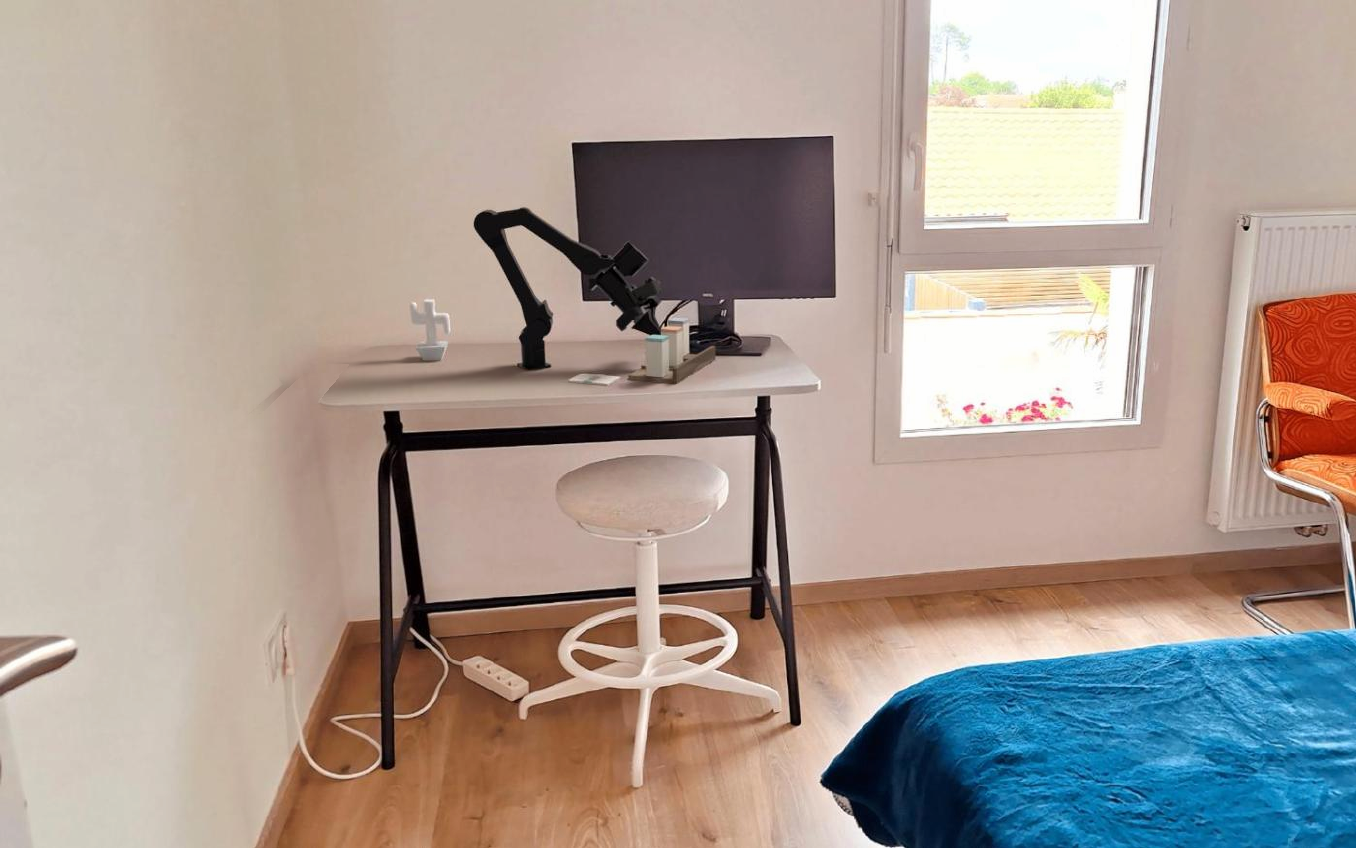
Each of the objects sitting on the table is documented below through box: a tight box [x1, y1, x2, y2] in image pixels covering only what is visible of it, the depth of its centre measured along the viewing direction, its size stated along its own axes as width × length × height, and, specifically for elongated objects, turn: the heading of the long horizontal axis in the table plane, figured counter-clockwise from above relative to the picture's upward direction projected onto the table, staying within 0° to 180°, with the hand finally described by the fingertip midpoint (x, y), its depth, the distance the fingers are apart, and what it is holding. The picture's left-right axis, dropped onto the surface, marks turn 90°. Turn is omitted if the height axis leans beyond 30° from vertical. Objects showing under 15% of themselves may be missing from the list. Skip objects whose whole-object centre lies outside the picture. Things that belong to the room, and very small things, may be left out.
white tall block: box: [645, 335, 669, 377], centre depth 223 cm, size 4×4×9 cm
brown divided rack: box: [627, 345, 716, 385], centre depth 234 cm, size 12×26×4 cm, turn 158°
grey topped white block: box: [667, 317, 690, 356], centre depth 244 cm, size 4×4×9 cm
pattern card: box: [567, 373, 622, 386], centre depth 225 cm, size 10×7×1 cm
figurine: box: [409, 298, 451, 362], centre depth 246 cm, size 7×9×15 cm
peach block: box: [661, 325, 683, 367], centre depth 233 cm, size 4×4×9 cm
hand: (663, 338), depth 234 cm, fingers closed
